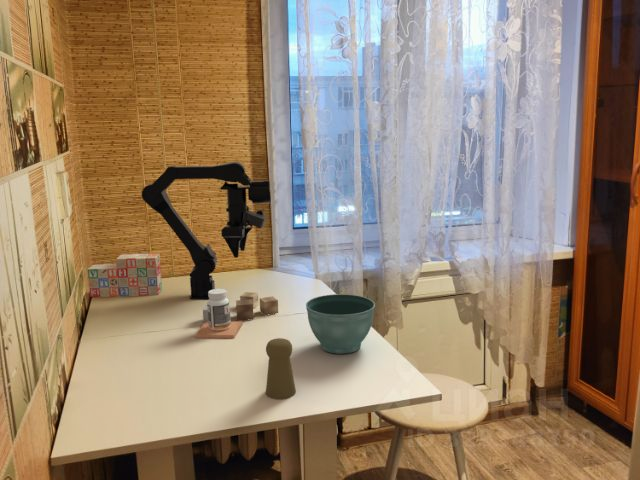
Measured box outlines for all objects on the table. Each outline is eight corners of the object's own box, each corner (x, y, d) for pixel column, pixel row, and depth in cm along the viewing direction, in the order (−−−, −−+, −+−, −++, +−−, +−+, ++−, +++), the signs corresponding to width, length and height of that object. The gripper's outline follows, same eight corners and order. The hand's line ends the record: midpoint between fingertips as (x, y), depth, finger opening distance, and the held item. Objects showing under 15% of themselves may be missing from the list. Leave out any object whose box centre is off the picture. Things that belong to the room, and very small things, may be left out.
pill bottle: (234, 325, 154) (232, 288, 152) (224, 332, 149) (222, 295, 147) (215, 323, 156) (213, 287, 154) (204, 330, 151) (202, 293, 149)
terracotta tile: (195, 337, 148) (195, 334, 148) (206, 324, 158) (205, 321, 158) (234, 338, 148) (234, 335, 147) (242, 324, 157) (242, 321, 157)
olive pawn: (265, 386, 121) (263, 335, 118) (295, 384, 121) (293, 334, 119) (265, 400, 115) (263, 347, 112) (296, 398, 115) (294, 345, 113)
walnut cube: (237, 321, 160) (236, 305, 159) (236, 315, 165) (235, 300, 164) (253, 320, 161) (252, 304, 160) (252, 314, 165) (252, 299, 164)
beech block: (240, 309, 170) (239, 296, 169) (245, 305, 174) (245, 292, 173) (253, 310, 169) (253, 296, 168) (258, 305, 173) (257, 292, 172)
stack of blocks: (89, 297, 185) (85, 259, 182) (96, 292, 191) (92, 255, 188) (158, 295, 186) (155, 257, 183) (162, 289, 192) (159, 252, 189)
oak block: (265, 315, 164) (264, 302, 163) (260, 311, 168) (259, 298, 167) (278, 313, 166) (277, 300, 165) (273, 309, 169) (272, 296, 168)
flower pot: (339, 330, 152) (339, 289, 149) (388, 346, 140) (389, 302, 138) (293, 347, 141) (291, 304, 138) (342, 366, 129) (341, 319, 127)
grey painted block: (203, 324, 158) (202, 309, 158) (206, 319, 162) (205, 305, 162) (218, 323, 159) (217, 309, 158) (220, 318, 162) (219, 304, 162)
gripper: (257, 208, 168) (260, 261, 172) (268, 199, 187) (270, 247, 190) (219, 208, 169) (222, 261, 173) (233, 199, 188) (236, 247, 191)
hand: (239, 254), depth 181 cm, fingers open, 9 cm apart
